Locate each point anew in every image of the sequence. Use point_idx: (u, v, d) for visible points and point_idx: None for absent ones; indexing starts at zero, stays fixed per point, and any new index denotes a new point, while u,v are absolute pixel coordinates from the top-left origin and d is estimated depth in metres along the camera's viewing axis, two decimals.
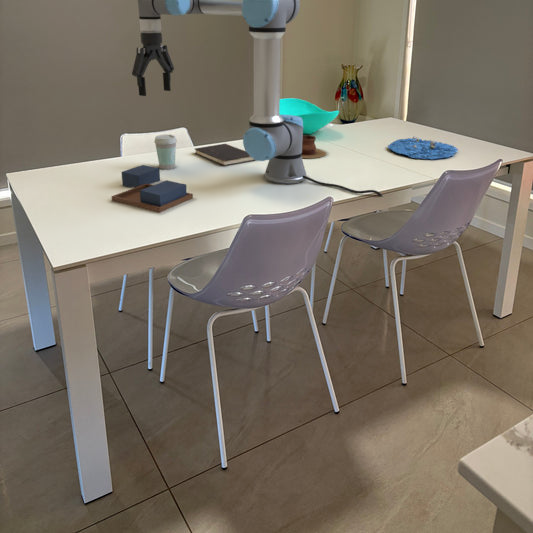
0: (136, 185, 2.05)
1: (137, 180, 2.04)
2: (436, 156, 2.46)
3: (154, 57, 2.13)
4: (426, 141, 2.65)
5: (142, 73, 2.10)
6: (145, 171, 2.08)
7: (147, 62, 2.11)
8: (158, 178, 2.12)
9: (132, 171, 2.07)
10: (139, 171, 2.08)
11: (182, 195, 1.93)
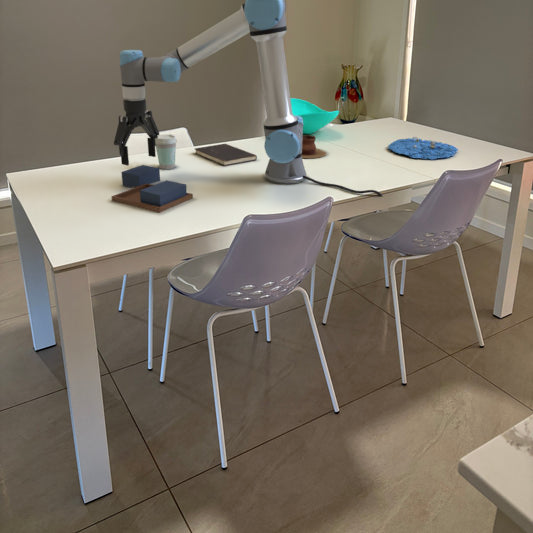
0: (136, 185, 2.05)
1: (137, 180, 2.04)
2: (436, 156, 2.46)
3: (138, 124, 2.02)
4: (426, 141, 2.65)
5: (124, 142, 1.98)
6: (145, 171, 2.08)
7: (130, 130, 1.99)
8: (158, 178, 2.12)
9: (132, 171, 2.07)
10: (139, 171, 2.08)
11: (182, 195, 1.93)
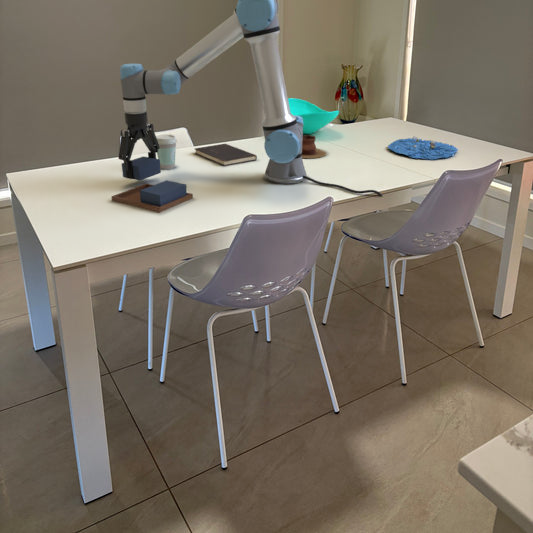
0: (136, 176, 2.04)
1: (138, 171, 2.03)
2: (436, 156, 2.46)
3: (139, 137, 2.03)
4: (426, 141, 2.65)
5: (129, 157, 2.01)
6: (145, 162, 2.06)
7: (133, 144, 2.01)
8: (159, 169, 2.11)
9: (132, 163, 2.05)
10: (140, 162, 2.06)
11: (182, 195, 1.93)
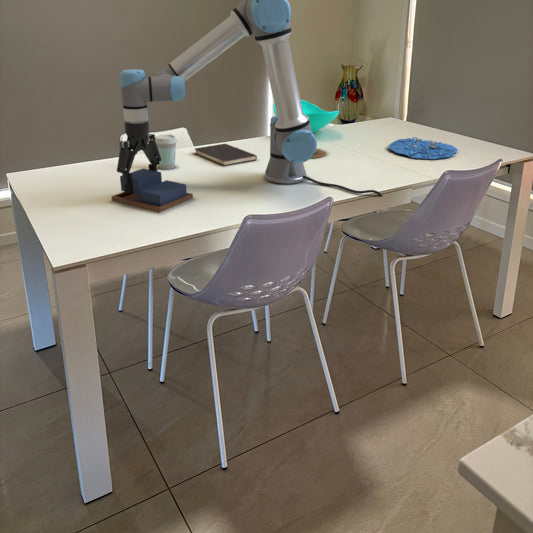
0: (136, 190, 1.89)
1: (137, 185, 1.88)
2: (436, 156, 2.46)
3: (140, 148, 1.89)
4: (426, 141, 2.65)
5: (128, 169, 1.86)
6: (146, 175, 1.91)
7: (133, 156, 1.86)
8: None
9: None
10: (140, 175, 1.92)
11: (182, 195, 1.93)
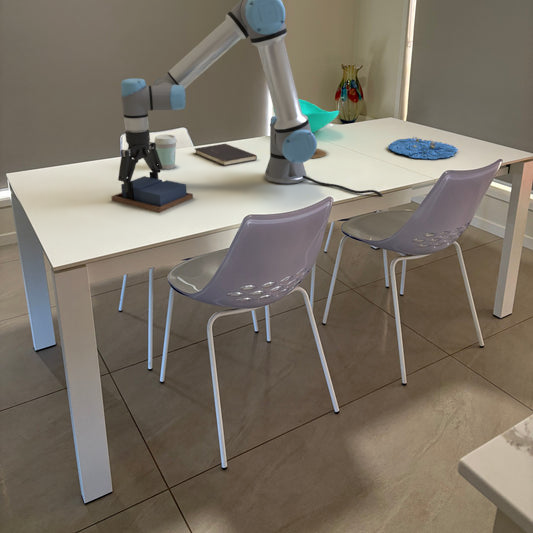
0: (137, 199, 1.90)
1: (138, 194, 1.89)
2: (436, 156, 2.46)
3: (141, 157, 1.90)
4: (426, 141, 2.65)
5: (129, 178, 1.87)
6: (147, 183, 1.92)
7: (134, 164, 1.88)
8: None
9: None
10: (141, 183, 1.93)
11: (182, 195, 1.93)
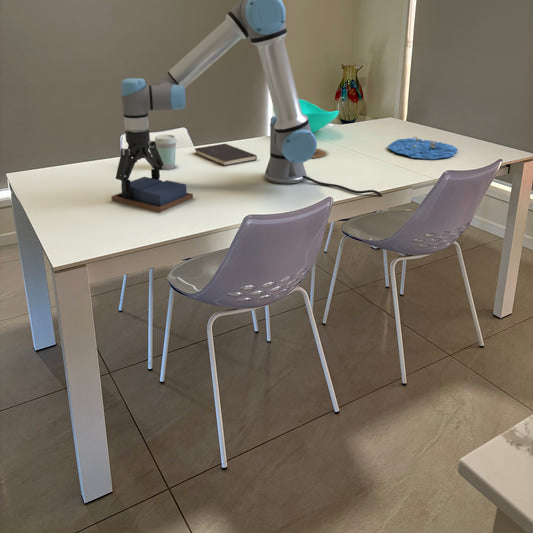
0: (137, 199, 1.90)
1: (138, 194, 1.89)
2: (436, 156, 2.46)
3: (141, 156, 1.90)
4: (426, 141, 2.65)
5: (127, 176, 1.86)
6: (147, 184, 1.93)
7: (133, 163, 1.87)
8: None
9: (132, 184, 1.92)
10: (141, 183, 1.93)
11: (182, 195, 1.93)
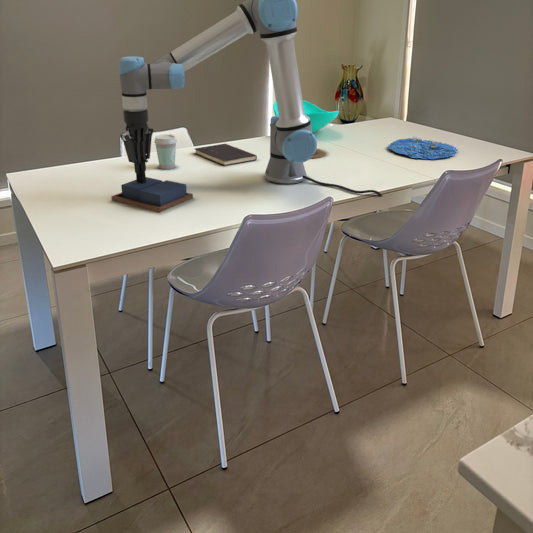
0: (137, 199, 1.90)
1: (138, 194, 1.89)
2: (436, 156, 2.46)
3: None
4: (426, 141, 2.65)
5: (139, 159, 1.89)
6: (147, 184, 1.93)
7: (138, 145, 1.87)
8: None
9: (132, 184, 1.92)
10: (141, 183, 1.93)
11: (182, 195, 1.93)
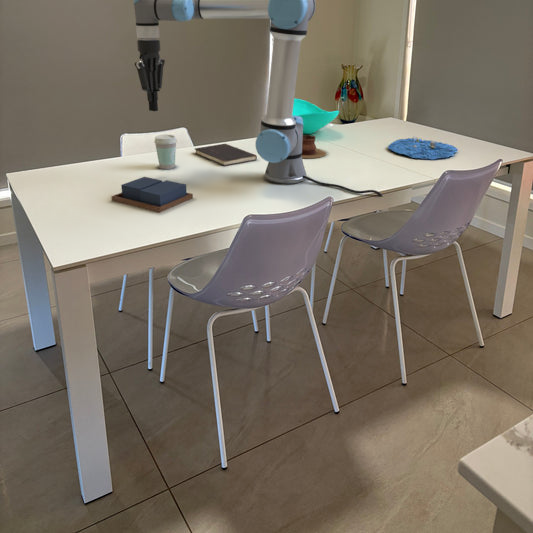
0: (137, 199, 1.90)
1: (138, 194, 1.89)
2: (436, 156, 2.46)
3: None
4: (426, 141, 2.65)
5: (151, 88, 2.03)
6: (147, 184, 1.93)
7: (150, 74, 2.01)
8: None
9: (132, 184, 1.92)
10: (141, 183, 1.93)
11: (182, 195, 1.93)
